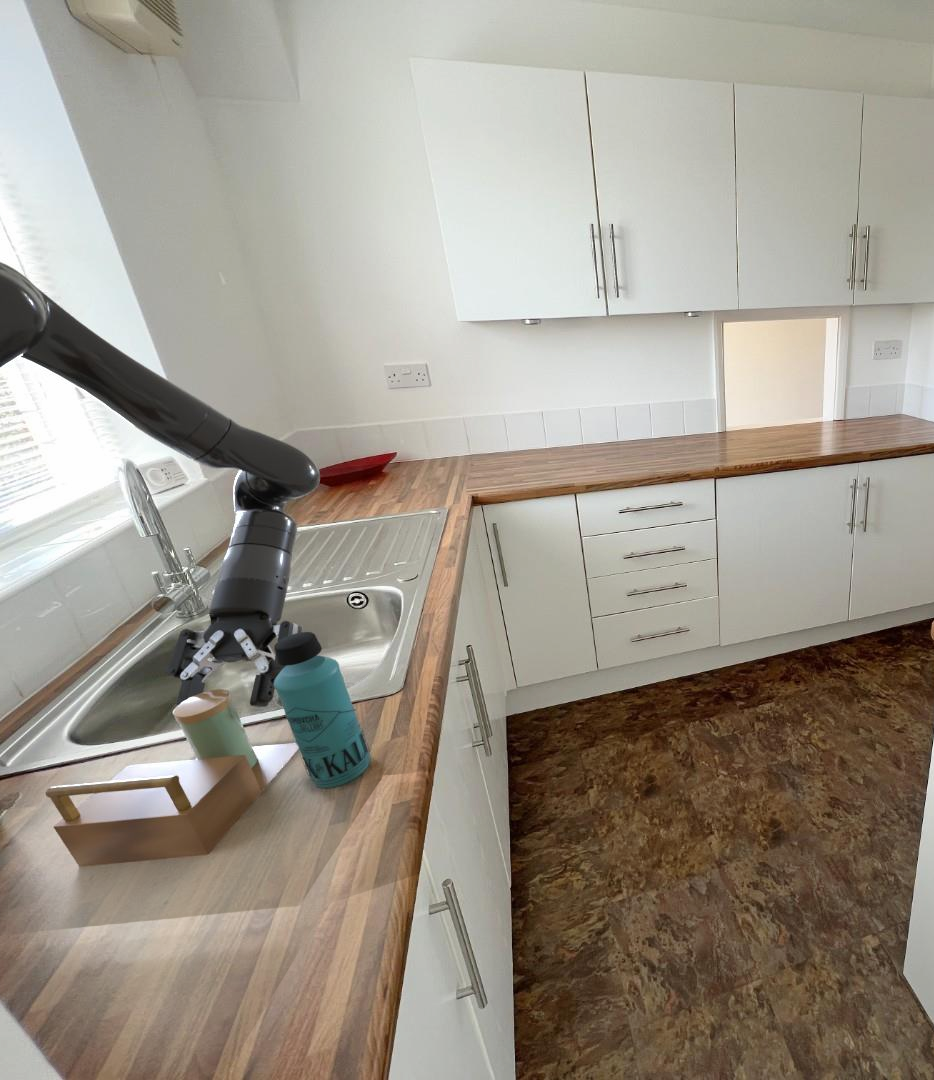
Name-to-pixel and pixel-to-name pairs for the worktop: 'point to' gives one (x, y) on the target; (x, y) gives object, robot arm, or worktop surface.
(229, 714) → the spice jar
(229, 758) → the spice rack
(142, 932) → the worktop surface
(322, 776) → the beverage bottle
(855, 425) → the worktop surface
